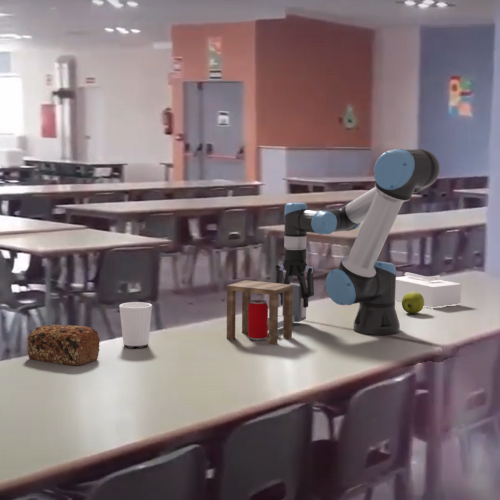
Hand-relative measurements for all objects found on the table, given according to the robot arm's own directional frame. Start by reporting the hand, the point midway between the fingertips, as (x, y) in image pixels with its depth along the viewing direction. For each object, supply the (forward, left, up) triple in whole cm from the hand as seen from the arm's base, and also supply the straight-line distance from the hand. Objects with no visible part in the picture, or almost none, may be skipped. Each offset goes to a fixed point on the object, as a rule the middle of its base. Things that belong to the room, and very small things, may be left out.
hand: (294, 315), depth 314 cm
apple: (-29, -39, -3) cm, 48 cm away
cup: (+27, +54, -3) cm, 61 cm away
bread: (+35, +78, -3) cm, 86 cm away
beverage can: (0, +26, -3) cm, 26 cm away
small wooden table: (0, +25, -3) cm, 25 cm away
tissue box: (-25, -63, -3) cm, 68 cm away
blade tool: (0, +9, -1) cm, 9 cm away
